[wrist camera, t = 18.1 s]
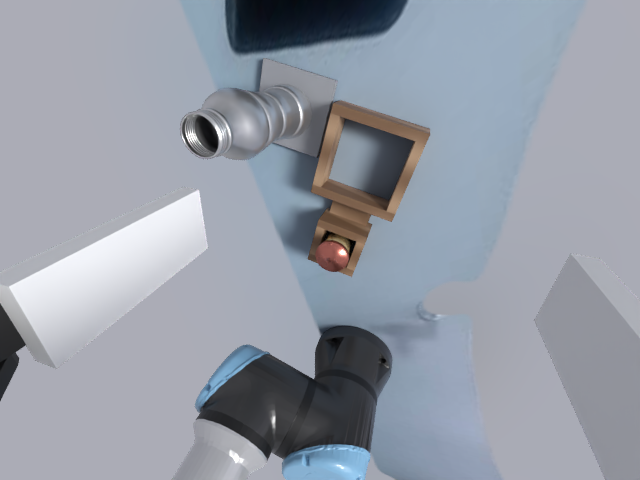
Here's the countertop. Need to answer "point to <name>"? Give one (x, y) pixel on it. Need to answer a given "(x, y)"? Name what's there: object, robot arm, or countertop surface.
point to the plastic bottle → (245, 121)
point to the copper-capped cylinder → (334, 252)
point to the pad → (318, 95)
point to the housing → (350, 202)
